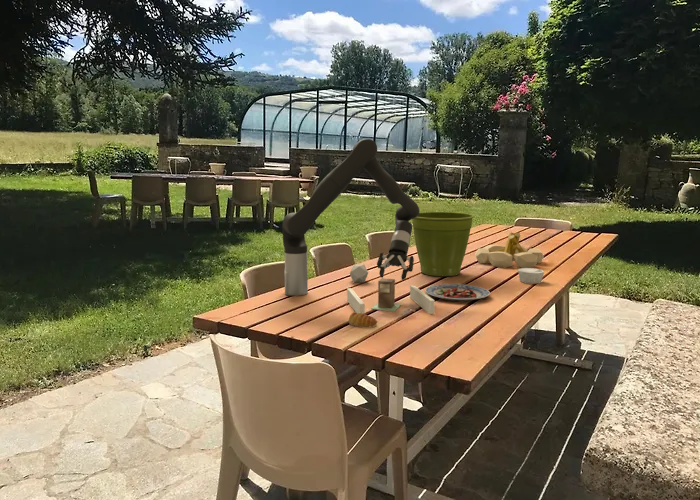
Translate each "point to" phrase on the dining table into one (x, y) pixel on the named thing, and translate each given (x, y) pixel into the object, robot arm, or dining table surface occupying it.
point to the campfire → (509, 254)
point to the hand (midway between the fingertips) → (392, 278)
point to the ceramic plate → (457, 292)
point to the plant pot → (441, 241)
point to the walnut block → (386, 293)
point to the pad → (386, 308)
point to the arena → (415, 295)
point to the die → (358, 273)
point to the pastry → (361, 320)
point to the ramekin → (530, 275)
